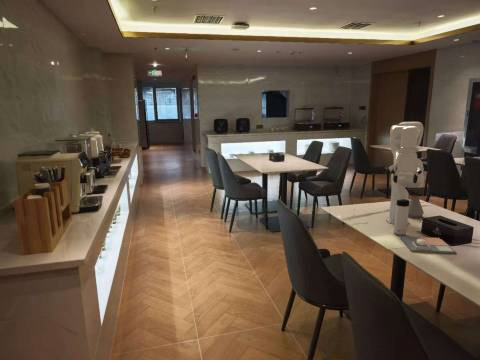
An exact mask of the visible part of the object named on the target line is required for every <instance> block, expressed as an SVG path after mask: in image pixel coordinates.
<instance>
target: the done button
mask: <svg viewBox="0 0 480 360" xmlns="http://www.w3.org/2000/svg"><path fill="white" fill-rule="evenodd" d="M416 244H417V245H420V246H425V245H426V240H423V239H417V243H416Z"/></svg>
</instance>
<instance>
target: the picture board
mask: <svg viewBox="0 0 480 360" xmlns="http://www.w3.org/2000/svg"><path fill="white" fill-rule="evenodd" d="M440 238H441V237H427V236H426V237H425V236H399V239H400V240H401V242H403V244H404V245H405V246H406V247H407V248H408V249H409V251H410V252H412V253H427V254H428V253H429V254H446V255H447V254H449V255H450V254H452V255H453V254H454V255H456V254H457V251H456V250H455V249H454V248H452V246H450V245H449V244H448V243H447V242H445V241H444V240H443V239H442V238H441V239H440ZM417 239H423V240H426V245H425V246H420V245H417V244H416V243H417Z"/></svg>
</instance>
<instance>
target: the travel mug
mask: <svg viewBox="0 0 480 360" xmlns="http://www.w3.org/2000/svg"><path fill="white" fill-rule="evenodd" d="M409 201H410V199H408V200H405V199H401V200H397V204H396V214H395V224H393V225H394V228H393V234H394V235H396V236H398V237H400V236H404V237H406V236H407V231H408V224H407V222H408V220H409V216H408V211H409Z"/></svg>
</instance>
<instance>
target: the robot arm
mask: <svg viewBox="0 0 480 360" xmlns="http://www.w3.org/2000/svg"><path fill="white" fill-rule="evenodd" d="M389 131H390V132H389V136H390V137H389V147H390V151H391V154H392V155H393V164H392V165H390V166H388V170H389V171H390V173H391V175H390V183H391V191H390V192H391V194H390V207H389V216H388V217H386V222H387V223H390V224H392V225H395V214H396V204H397V200H401V199H405V200H409V198H410V197H409V195H408V192H409V191H408V190H407V191H408V192H407V191H406V189H407V188H413V189H414V188H417V189H418V188H422V187H423V186H424V182H425V176H424V170H425V168H424V164H423V161H422V160H421V159H419V158H418V153H417V152H419V151H420V149H419V148H417V147H419V146H420V145H421V142H422V138H423V135H424V125H423V123H422V122H420V121H403V122H400V123H398V124H393V125H391V127H390V130H389ZM405 188H406V189H405ZM408 224H410V220H409V219H408V222H407V225H408Z"/></svg>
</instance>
